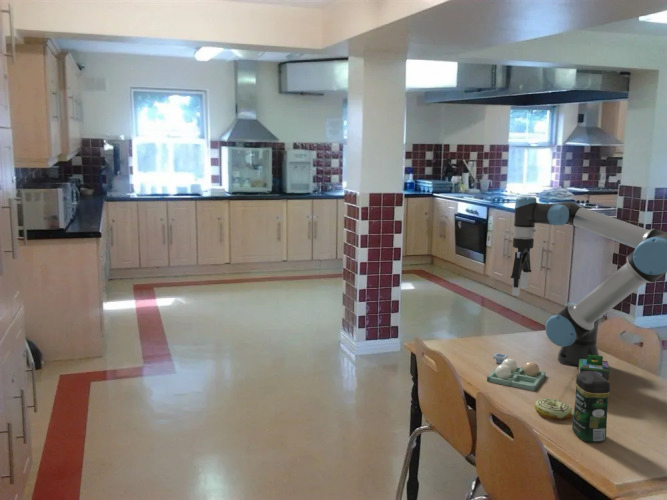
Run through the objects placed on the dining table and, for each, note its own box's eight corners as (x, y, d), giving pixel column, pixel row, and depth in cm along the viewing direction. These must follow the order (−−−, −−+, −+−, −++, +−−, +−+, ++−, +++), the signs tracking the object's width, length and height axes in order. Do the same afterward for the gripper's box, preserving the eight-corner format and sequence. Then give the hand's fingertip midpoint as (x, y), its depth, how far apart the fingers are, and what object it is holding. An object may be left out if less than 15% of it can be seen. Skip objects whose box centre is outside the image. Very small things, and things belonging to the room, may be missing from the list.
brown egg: (524, 375, 223) (526, 360, 224) (539, 378, 221) (541, 363, 221) (520, 375, 219) (522, 360, 219) (536, 378, 216) (538, 363, 216)
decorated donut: (566, 425, 185) (567, 413, 184) (530, 416, 191) (531, 404, 190) (575, 412, 194) (575, 401, 193) (540, 404, 200) (541, 393, 199)
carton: (545, 378, 221) (545, 372, 221) (534, 393, 208) (534, 386, 207) (500, 369, 230) (500, 363, 229) (486, 383, 216) (487, 377, 216)
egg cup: (507, 363, 236) (507, 354, 236) (503, 366, 233) (504, 358, 232) (496, 361, 238) (496, 352, 238) (492, 364, 235) (493, 355, 234)
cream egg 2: (512, 378, 218) (513, 364, 217) (508, 383, 214) (509, 368, 213) (497, 375, 221) (498, 361, 220) (492, 380, 216) (493, 365, 215)
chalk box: (605, 393, 209) (609, 351, 206) (607, 404, 200) (611, 360, 198) (576, 389, 212) (579, 348, 209) (577, 400, 203) (580, 356, 201)
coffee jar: (567, 428, 182) (572, 368, 179) (593, 428, 183) (598, 368, 180) (582, 444, 173) (587, 381, 170) (610, 443, 173) (615, 380, 170)
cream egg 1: (518, 372, 225) (519, 358, 224) (514, 376, 220) (515, 362, 219) (503, 369, 227) (504, 355, 226) (499, 373, 223) (500, 359, 222)
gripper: (526, 242, 222) (522, 299, 226) (540, 234, 243) (537, 286, 247) (505, 240, 226) (501, 297, 229) (521, 232, 247) (518, 284, 251)
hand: (520, 292), depth 238 cm, fingers open, 13 cm apart
